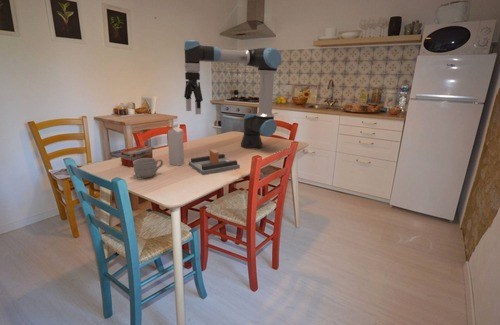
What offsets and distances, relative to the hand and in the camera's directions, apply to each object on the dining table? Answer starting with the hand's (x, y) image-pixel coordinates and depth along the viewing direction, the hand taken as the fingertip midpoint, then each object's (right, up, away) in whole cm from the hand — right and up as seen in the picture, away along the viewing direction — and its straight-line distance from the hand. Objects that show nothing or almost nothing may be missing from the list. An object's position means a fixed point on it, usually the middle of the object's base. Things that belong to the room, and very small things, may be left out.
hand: (193, 112), depth 155 cm
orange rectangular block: (+12, -28, -1) cm, 30 cm away
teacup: (-18, -34, -16) cm, 42 cm away
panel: (+11, -30, 0) cm, 32 cm away
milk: (-10, -28, +2) cm, 30 cm away
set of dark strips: (+12, -28, -1) cm, 30 cm away
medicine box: (-31, -28, +2) cm, 42 cm away
